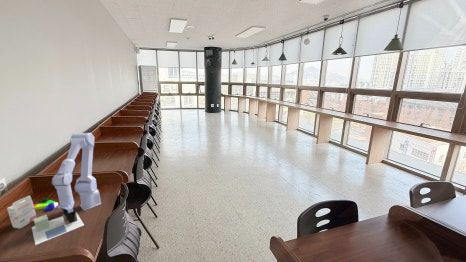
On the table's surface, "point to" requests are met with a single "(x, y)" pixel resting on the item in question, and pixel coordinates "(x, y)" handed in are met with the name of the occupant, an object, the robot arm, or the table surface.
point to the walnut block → (67, 219)
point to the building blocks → (46, 205)
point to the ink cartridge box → (22, 212)
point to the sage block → (41, 223)
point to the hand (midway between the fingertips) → (70, 218)
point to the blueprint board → (55, 229)
